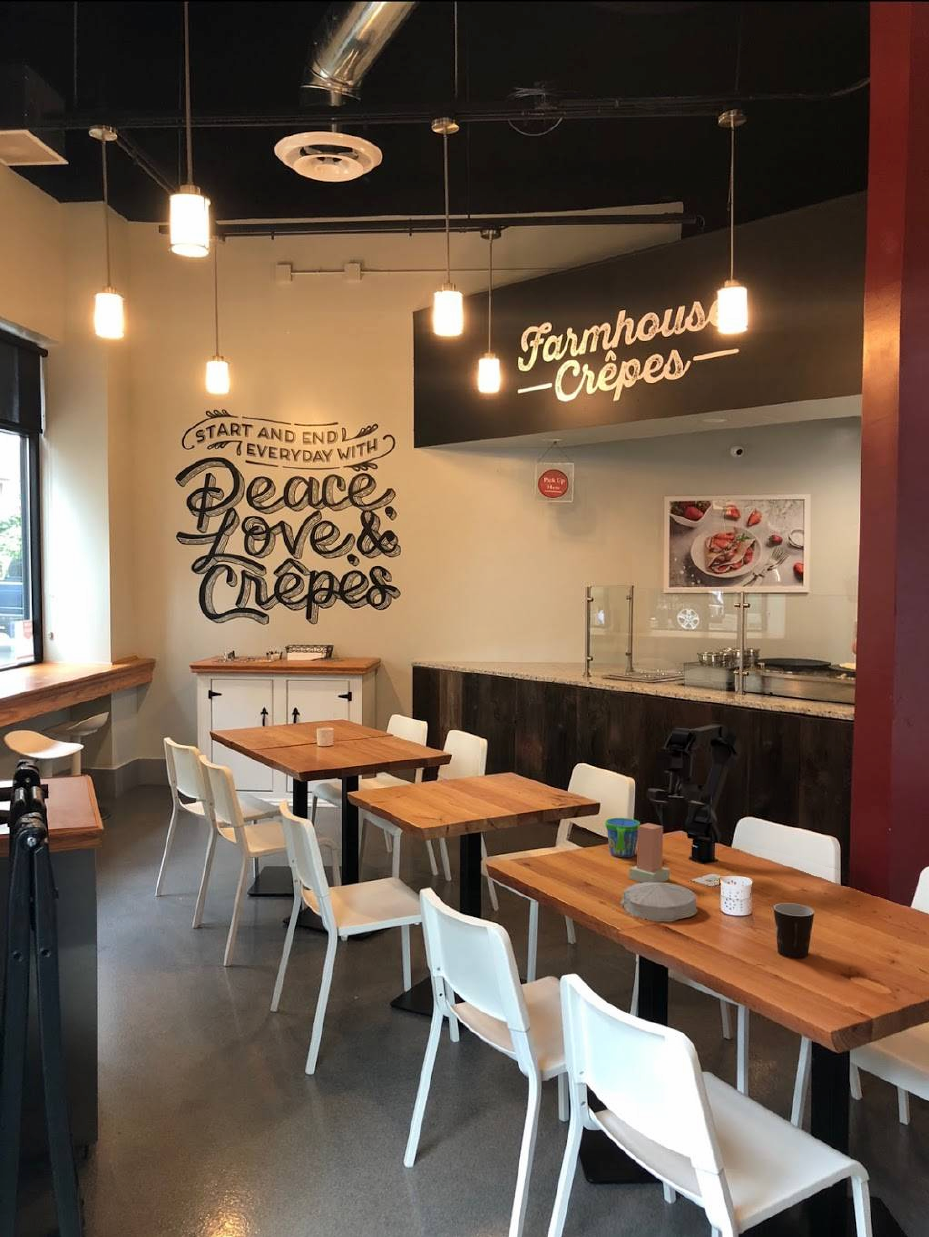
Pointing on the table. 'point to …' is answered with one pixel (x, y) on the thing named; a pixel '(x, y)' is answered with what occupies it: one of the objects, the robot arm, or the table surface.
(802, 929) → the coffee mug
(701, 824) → the robot arm
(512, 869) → the table surface
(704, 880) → the page
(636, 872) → the base brick
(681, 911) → the grey round stone disc
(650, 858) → the tall brick
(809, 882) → the table surface
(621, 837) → the snack cup
